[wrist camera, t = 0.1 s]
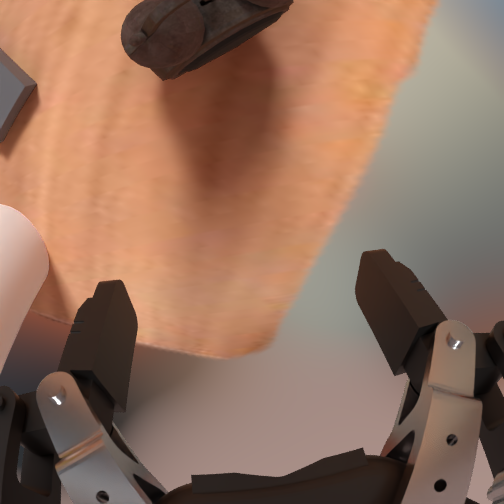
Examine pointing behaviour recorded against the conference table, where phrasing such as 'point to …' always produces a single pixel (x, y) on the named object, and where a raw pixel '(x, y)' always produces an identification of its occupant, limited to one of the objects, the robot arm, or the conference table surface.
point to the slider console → (12, 92)
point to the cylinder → (18, 273)
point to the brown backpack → (193, 31)
